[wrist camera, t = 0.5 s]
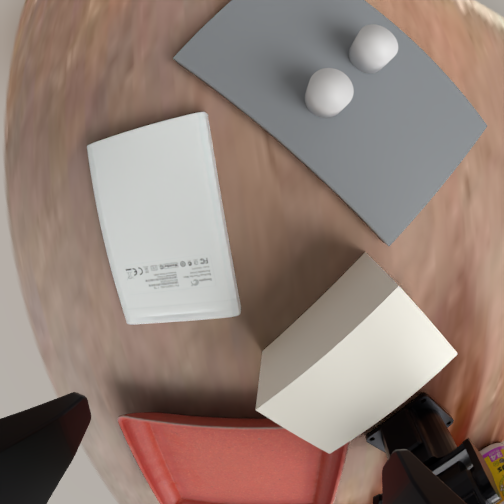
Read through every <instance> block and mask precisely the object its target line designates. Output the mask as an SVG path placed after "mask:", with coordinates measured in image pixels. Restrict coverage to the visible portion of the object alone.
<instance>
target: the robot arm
mask: <svg viewBox="0 0 504 504" xmlns="http://www.w3.org/2000/svg"><path fill="white" fill-rule="evenodd" d="M422 399H423V400H422ZM90 420H91V413H90V409H89V404H88V400H87V398H86V397H85V396H84V395H81V394H79V393H76V392H73V393H70V394H67V395H65V396H62V397H60V398H57V399H54V400H52V401H49V402H47V403H44V404H42V405H38V406H36V407H33V408H30V409H28V410H25V411H22V412H19V413H16V414H13V415H10V416H7V417H4V418H1V419H0V504H47V502H48V500H49V498H50V497H51V495H52V493H53V491H54V490H55V488H56V487H57V485H58V483H59V481H60V480H61V478H62V476H63V475H64V473H65V471H66V470H67V468H68V467H69V465H70V463H71V461H72V460H73V458H74V456H75V454H76V452H77V449H78V447H79V445H80V443H81V441H82V438H83V436H84V434H85V432H86V430H87V428H88V425H89V423H90ZM452 423H453V419H452V417H451V416H450V415H449V414H448V413H447V412H445V411H444V410H443V409H442V408H441V407H440V406H439V405H438V404H437V403H436V402H435V401H434V400H432V399H431V398H430V397H429V396H428V395H427V394H425V393H423V394H421V395H419V396H418V397H417V398H415V399H414V400H413V401H412V402H411V403H409V404H408V405H407V406H406V407H404V408H403V409H402V410H400V411H399V412H398V413H397V414H395V415H394V416H393V417H391V418H390V419H389V420H387V421H386V422H385V423H383V424H382V425H380V426H379V427H378V428H376V429H375V430H373V431H372V432H370V433H369V434H368V435H367V436H366V440H367V442H368V443H370V444H371V445H373V446H375V447H376V448H378V449H380V450H382V451H383V452H385V453H386V455H387V458H388V460H387V462H386V464H385V465H384V467H383V470H382V487H383V493H382V494H378V495H376V496H374V497H373V504H494V502H496V501H497V500H499V499H500V495H499V492H498V489H497V486H496V484H495V481H494V478H493V475H492V473H491V471H490V469H489V467H488V465H487V464H486V462H485V460H484V458H483V456H482V455H481V453H480V452H479V451H478V450H477V448H476V447H475V446H474V444H473V443H472V442H471V441H470V439H469V438H468V439H466V440H465V441H464V442H463V444H461V445H460V446H459V447H457V446H456V444H455V442H454V440H453V438H452V436H451V434H450V432H449V431H448V429H447V428H448V427H449V426H450V425H451V424H452Z"/></svg>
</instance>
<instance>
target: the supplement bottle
mask: <svg viewBox="0 0 504 504" xmlns="http://www.w3.org/2000/svg"><path fill="white" fill-rule="evenodd" d="M479 452H480V453H481V455H482V456H483V458H484V460H485V462H486V464H487V465H488V467H489V469H490V471H491V473H492V475H493V478H494V481H495V484H496V486H497V489H498V492H499V495H500V499H499V500H497V501H496V502H494V504H504V444H503V443H494V444H491V445H489V446H487V447H485V448H484V449H482V450H481V451H479Z"/></svg>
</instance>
